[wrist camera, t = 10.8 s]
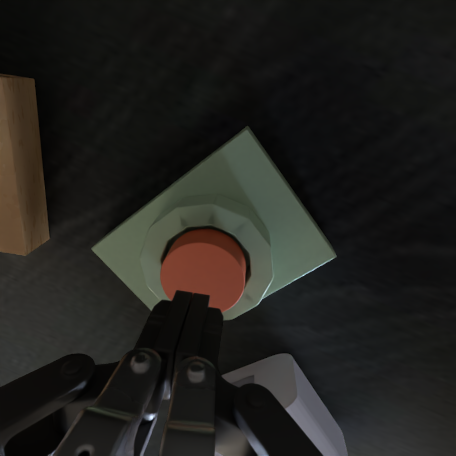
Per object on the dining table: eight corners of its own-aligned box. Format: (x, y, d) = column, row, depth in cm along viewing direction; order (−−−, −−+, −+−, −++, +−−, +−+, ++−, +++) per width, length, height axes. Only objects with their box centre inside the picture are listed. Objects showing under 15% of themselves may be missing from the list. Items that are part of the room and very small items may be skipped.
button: (213, 213, 17) (208, 225, 15) (261, 273, 18) (262, 290, 16) (152, 255, 18) (142, 271, 16) (201, 308, 19) (196, 328, 18)
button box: (247, 125, 18) (246, 132, 15) (331, 244, 20) (345, 272, 17) (102, 237, 21) (75, 263, 18) (187, 327, 24) (177, 363, 21)
